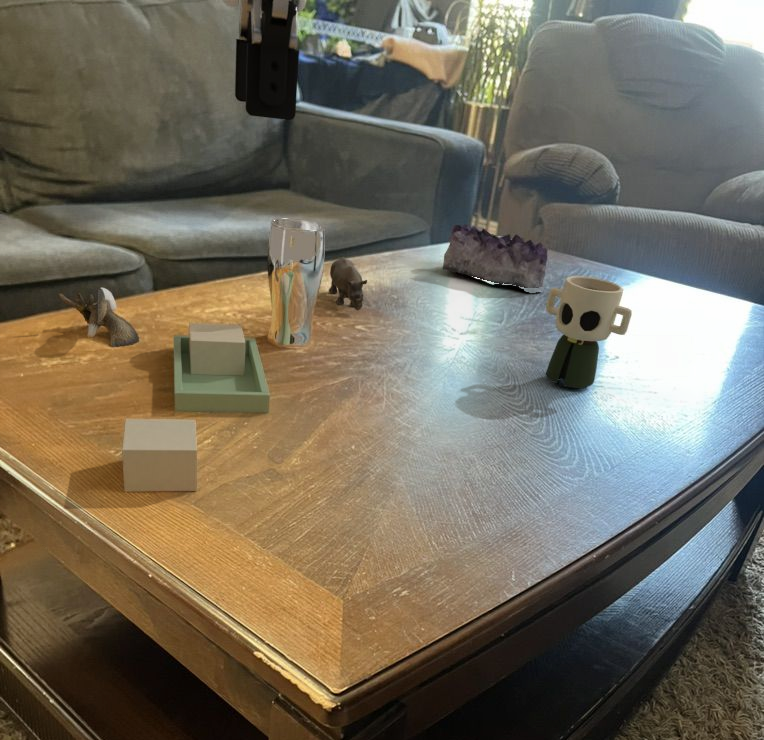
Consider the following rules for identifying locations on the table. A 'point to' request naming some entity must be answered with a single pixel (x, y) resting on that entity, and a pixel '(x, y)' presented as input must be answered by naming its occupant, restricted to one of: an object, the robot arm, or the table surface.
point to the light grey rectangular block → (159, 455)
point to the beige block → (216, 349)
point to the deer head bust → (104, 318)
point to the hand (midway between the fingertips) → (262, 109)
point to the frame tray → (219, 384)
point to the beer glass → (294, 279)
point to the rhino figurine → (347, 282)
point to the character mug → (583, 327)
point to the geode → (495, 257)
